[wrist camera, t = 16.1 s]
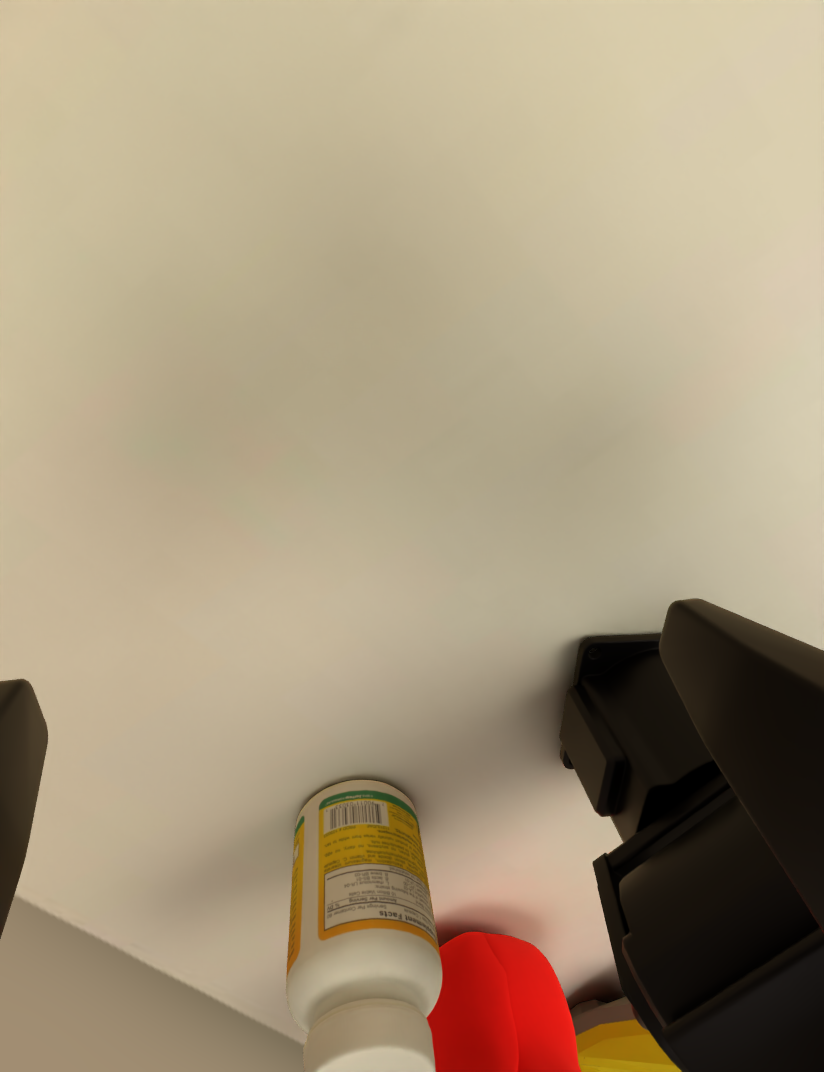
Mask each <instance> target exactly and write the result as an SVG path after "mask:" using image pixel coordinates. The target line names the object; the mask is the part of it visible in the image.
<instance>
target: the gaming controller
mask: <svg viewBox="0 0 824 1072" xmlns="http://www.w3.org/2000/svg"><path fill="white" fill-rule="evenodd" d="M570 1014H571V1017H572V1021H573V1025H574V1030H575V1036H576V1044H577V1054H578V1063H579V1067H580V1069H581V1072H682V1071H681V1070H680V1069H679V1068H678V1067H677V1066H676V1065H675V1064H674V1063H673V1062H672V1061H671V1060H670V1059H669V1057H668V1056H667V1055H666V1054H665V1053H664V1051H663V1050H662V1049H661V1048H660V1046H659V1045H658V1044H657V1042H656V1041H655V1039H654V1038H653V1036H652V1035H651V1033H650V1032H649V1031H648V1030H646V1029H644V1028H643V1027H642V1026H641V1025H640V1024H639V1023H638V1021H637V1020H636V1018H635V1016H634V1014H633V1012H632V1008H631V1003H630V1001H629V1000H628V999H627V997H623V998H620V999H618V1000H615V1001H612V1002H610V1003H607V1004H606V1003H604V1002H601V1001H598V1000H595V999H594V1000H590V1001H586V1002H582V1003H579V1004H577V1005H576V1006H575V1007H574V1008H573V1009H572V1010H570Z"/></svg>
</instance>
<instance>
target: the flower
mask: <svg viewBox="0 0 824 1072" xmlns="http://www.w3.org/2000/svg"><path fill="white" fill-rule="evenodd" d="M439 952H440V958H441V964H442V986H441V990H440V994H439V997H438V1000H437V1002H436V1004H435V1006H434V1008H433V1010H432V1011H431V1013H430V1014H429V1015H428V1016H427V1018H426V1019H427V1021H428V1025H429V1027H430V1029H431V1033H432V1042H433V1050H434V1058H435V1069H436V1072H581V1069H580V1067H579V1063H578V1054H577V1044H576V1036H575V1030H574V1025H573V1021H572V1017H571V1014H570V1010H569V1007H568V1004H567V1001H566V999H565V996H564V993H563V991H562V988H561V985H560V983H559V981H558V978H557V976H556V974H555V972H554V970H553V968H552V966H551V965H550V963H549V962H548V960H547V958H546V957H545V956H544V955H543V954H542V953H541V952H540V950H539V949H538V948H536V947H535V946H534V945H532V944H531V943H528V942H526V941H523V940H520V939H518V938H515V937H512V936H507V935H501V934H488V933H483V932H466V933H463V934H461V935H459V936H457V937H455V938H453V939H451V940H450V941H448V942H446V943H445V944H443V945H442V946H441V947H439Z"/></svg>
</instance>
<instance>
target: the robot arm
mask: <svg viewBox="0 0 824 1072" xmlns="http://www.w3.org/2000/svg"><path fill="white" fill-rule="evenodd" d="M593 648H597V649H596V650H595V651H594V652H591V653H589V652H590V650H592V649H593ZM559 737H560V740H561V742H562V746H561V751H560V758H561V760H562V763H563V765H564V766H565V767H566V768H568V769H575V771H576V773H577V775H578V777H579V779H580V781H581V783H582V785H583V787H584V789H585V791H586V794H587V796H588V798H589V800H590V802H591V804H592V806H593V808H594V810H595V811H596V812H597V813H598V814H599V815H600V816H601V817H606V816H610V817H611V819H612V821H613V823H614V825H615V827H616V829H617V831H618V833H619V835H620V837H621V839H622V841H623V844H621V845H620V846H618V847H617V848H616V849H614V850H613V851H612V852H610V853H609V854H607V853H604V854H603V855H601V856H600V857H599V858H597V859H596V860H595V861H593V867H594V871H595V875H596V880H597V884H598V891H599V895H600V900H601V904H602V908H603V912H604V916H605V921H606V925H607V929H608V933H609V937H610V942H611V946H612V950H613V954H614V959H615V963H616V967H617V971H618V975H619V980H620V984H621V987H622V990H623V992H624V994H625V996H626V997H627V999H628V1000H629V1001H630V1003H631V1008H632V1012H633V1014H634V1016H635V1018H636V1020H637V1021H638V1023H639V1024H640V1025H641V1026H642V1027H643V1028H644V1029H646V1030H648V1031H649V1032H650V1033H651V1035H652V1036H653V1038H654V1039H655V1041H656V1042H657V1044H658V1045H659V1046H660V1048H661V1049H662V1050H663V1051H664V1053H665V1054H666V1055H667V1056H668V1057H669V1059H670V1060H671V1061H672V1062H673V1063H674V1064H675V1065H676V1066H677V1067H678V1068H679V1069H680V1070H681V1071H682V1072H824V651H823V650H820V649H818V648H816V647H813V646H811V645H809V644H806V643H804V642H801V641H799V640H797V639H794V638H792V637H790V636H787V635H785V634H782V633H780V632H778V631H775V630H773V629H771V628H768V627H766V626H763V625H761V624H759V623H756V622H754V621H752V620H749V619H747V618H744V617H742V616H740V615H737V614H735V613H733V612H730V611H728V610H726V609H723V608H721V607H718V606H716V605H714V604H711V603H709V602H707V601H704V600H702V599H687V600H678V601H675V602H673V603H672V604H671V605H670V606H669V608H668V611H667V615H666V619H665V623H664V627H663V631H662V634H642V635H619V636H596V637H589V638H587V639H585V640H584V641H583V642H582V643H581V644H580V647H579V651H578V657H577V662H576V668H575V673H574V679H573V685H572V686H571V687H570V688H569V690H568V691H567V695H566V701H565V706H564V712H563V718H562V724H561V729H560V735H559ZM47 744H48V730H47V725H46V722H45V719H44V716H43V714H42V711H41V708H40V706H39V703H38V700H37V698H36V695H35V692H34V690H33V688H32V686H31V684H30V683H29V682H28V681H26V680H24V679H16V680H8V681H0V939H1V935H2V932H3V929H4V926H5V922H6V919H7V916H8V913H9V910H10V906H11V903H12V900H13V897H14V894H15V891H16V888H17V884H18V881H19V878H20V874H21V871H22V867H23V864H24V860H25V857H26V852H27V847H28V843H29V838H30V833H31V828H32V823H33V817H34V812H35V807H36V802H37V796H38V791H39V786H40V781H41V776H42V770H43V765H44V760H45V755H46V749H47Z"/></svg>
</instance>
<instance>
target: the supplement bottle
mask: <svg viewBox="0 0 824 1072" xmlns="http://www.w3.org/2000/svg"><path fill="white" fill-rule="evenodd" d="M441 986H442V964H441V958H440V952H439V946H438V940H437V933H436V927H435V921H434V915H433V909H432V903H431V897H430V891H429V884H428V878H427V872H426V866H425V860H424V854H423V848H422V842H421V835H420V829H419V823H418V818H417V814H416V810H415V808H414V806H413V804H412V802H411V801H410V800H409V799H408V798H407V797H406V796H405V795H404V794H403V793H402V792H401V791H399V790H398V789H396V788H394V787H392V786H390V785H388V784H386V783H382V782H379V781H373V780H352V781H345V782H342V783H338V784H335V785H333V786H330V787H328V788H326V789H324V790H322V791H321V792H319V793H318V794H316V795H315V796H314V797H313V798H312V799H310V800H309V802H308V803H307V804H306V805H305V806H304V808H303V809H302V810H301V812H300V814H299V816H298V819H297V822H296V826H295V837H294V853H293V871H292V891H291V906H290V926H289V942H288V959H287V978H286V995H287V1003H288V1006H289V1010H290V1012H291V1015H292V1016H293V1018H294V1020H295V1022H296V1023H297V1024H298V1026H299V1027H300V1028H301V1029H302V1030H303V1031H304V1032H305V1033H307V1034H308V1036H307V1040H306V1042H305V1045H304V1050H303V1056H304V1072H436V1069H435V1058H434V1050H433V1042H432V1033H431V1029H430V1027H429V1025H428V1021H427V1019H426V1018H427V1016H428V1015H429V1014H430V1013H431V1011H432V1010H433V1008H434V1006H435V1004H436V1002H437V1000H438V997H439V994H440V990H441Z"/></svg>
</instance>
